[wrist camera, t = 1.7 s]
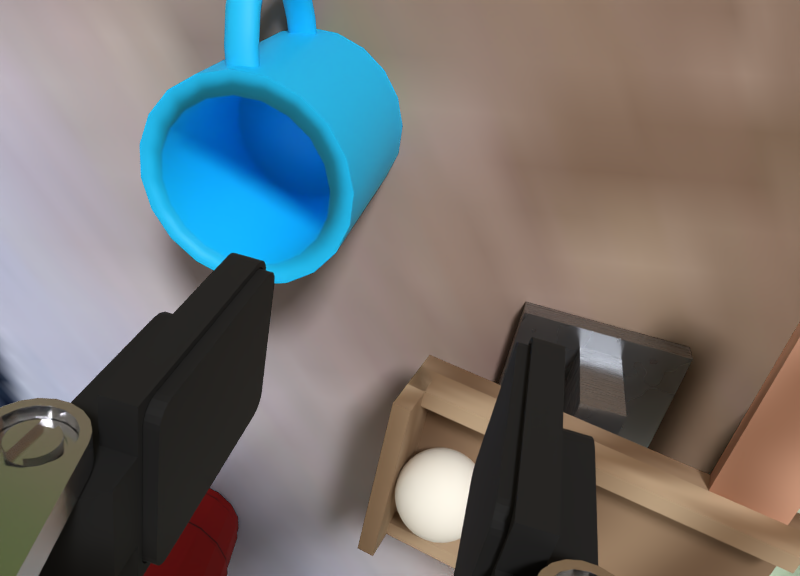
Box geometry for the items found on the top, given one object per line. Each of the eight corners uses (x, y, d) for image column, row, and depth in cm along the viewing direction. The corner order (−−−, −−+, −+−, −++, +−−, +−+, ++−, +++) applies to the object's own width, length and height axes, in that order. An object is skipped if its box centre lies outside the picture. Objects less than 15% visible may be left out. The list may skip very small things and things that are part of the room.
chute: (939, 314, 23) (968, 379, 20) (706, 647, 33) (700, 726, 30) (481, 158, 27) (444, 190, 24) (393, 492, 37) (357, 548, 34)
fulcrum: (689, 347, 34) (706, 419, 30) (605, 516, 40) (608, 598, 36) (525, 301, 35) (518, 365, 30) (467, 475, 41) (453, 549, 37)
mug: (403, 210, 34) (358, 294, 27) (241, 198, 36) (159, 274, 29) (401, -73, 28) (343, -58, 21) (208, -74, 30) (95, -60, 23)
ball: (509, 455, 31) (476, 515, 28) (487, 517, 34) (453, 579, 30) (428, 415, 33) (388, 468, 29) (411, 477, 35) (371, 533, 32)
